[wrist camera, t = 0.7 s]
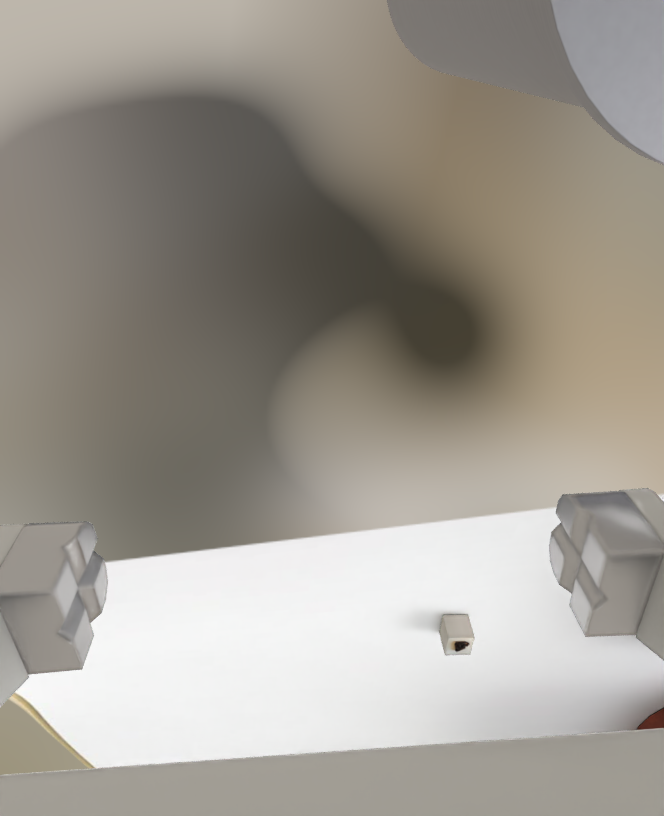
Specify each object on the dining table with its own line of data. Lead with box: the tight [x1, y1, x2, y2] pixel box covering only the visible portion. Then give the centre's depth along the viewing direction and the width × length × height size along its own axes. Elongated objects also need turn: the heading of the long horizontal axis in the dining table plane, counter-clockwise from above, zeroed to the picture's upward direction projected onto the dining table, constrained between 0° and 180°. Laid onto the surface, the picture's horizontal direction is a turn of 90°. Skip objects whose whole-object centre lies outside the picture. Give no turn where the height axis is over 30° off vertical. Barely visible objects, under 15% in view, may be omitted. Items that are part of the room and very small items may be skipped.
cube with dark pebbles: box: [439, 615, 474, 655], centre depth 49 cm, size 2×2×2 cm
